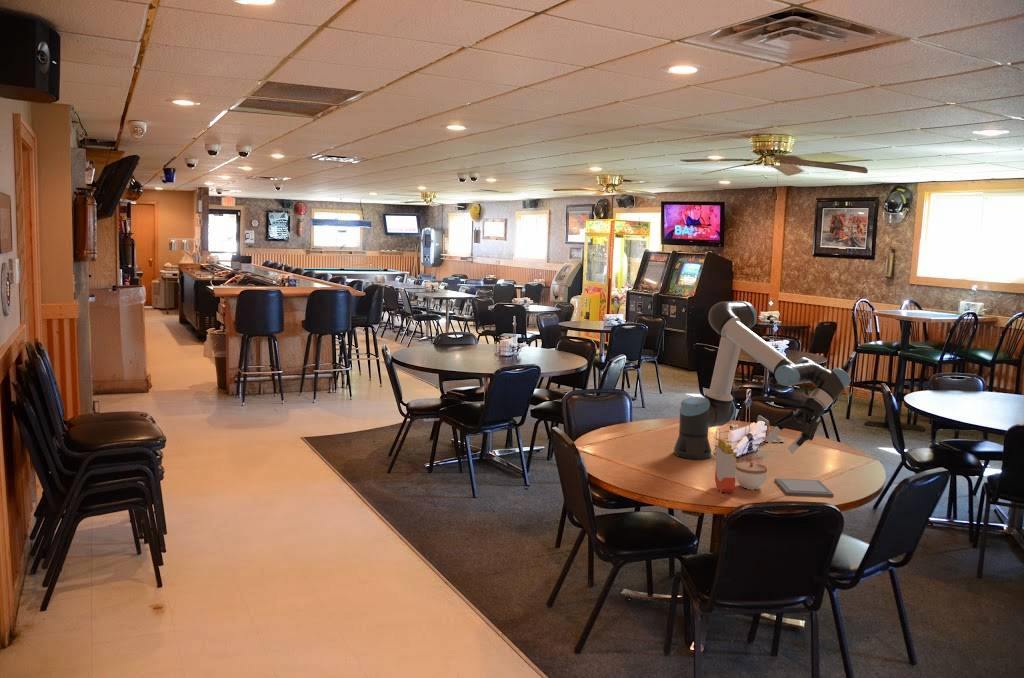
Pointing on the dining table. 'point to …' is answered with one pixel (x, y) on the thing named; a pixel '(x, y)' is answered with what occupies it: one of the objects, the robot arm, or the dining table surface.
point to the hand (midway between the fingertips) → (778, 446)
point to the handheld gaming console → (768, 429)
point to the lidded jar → (750, 475)
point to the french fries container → (725, 467)
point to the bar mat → (803, 487)
